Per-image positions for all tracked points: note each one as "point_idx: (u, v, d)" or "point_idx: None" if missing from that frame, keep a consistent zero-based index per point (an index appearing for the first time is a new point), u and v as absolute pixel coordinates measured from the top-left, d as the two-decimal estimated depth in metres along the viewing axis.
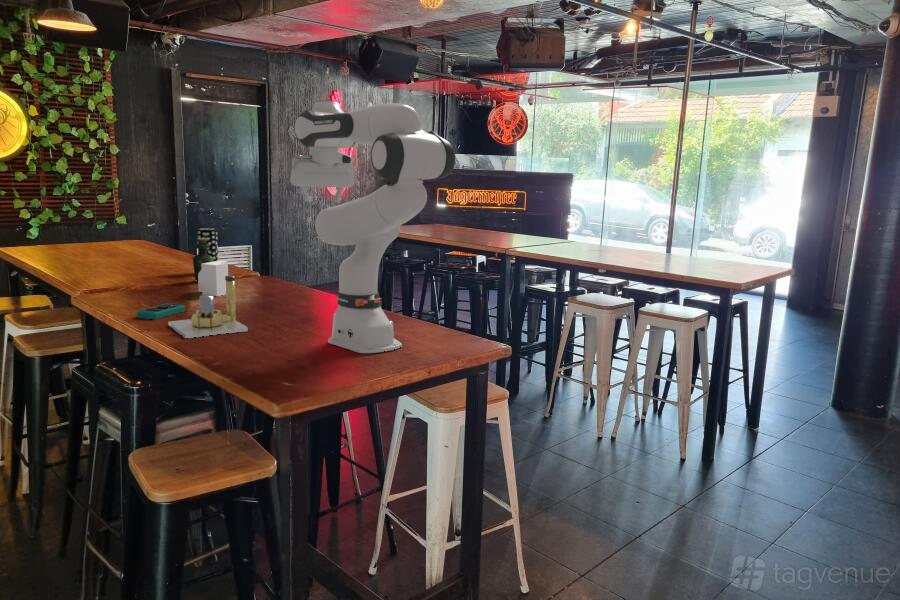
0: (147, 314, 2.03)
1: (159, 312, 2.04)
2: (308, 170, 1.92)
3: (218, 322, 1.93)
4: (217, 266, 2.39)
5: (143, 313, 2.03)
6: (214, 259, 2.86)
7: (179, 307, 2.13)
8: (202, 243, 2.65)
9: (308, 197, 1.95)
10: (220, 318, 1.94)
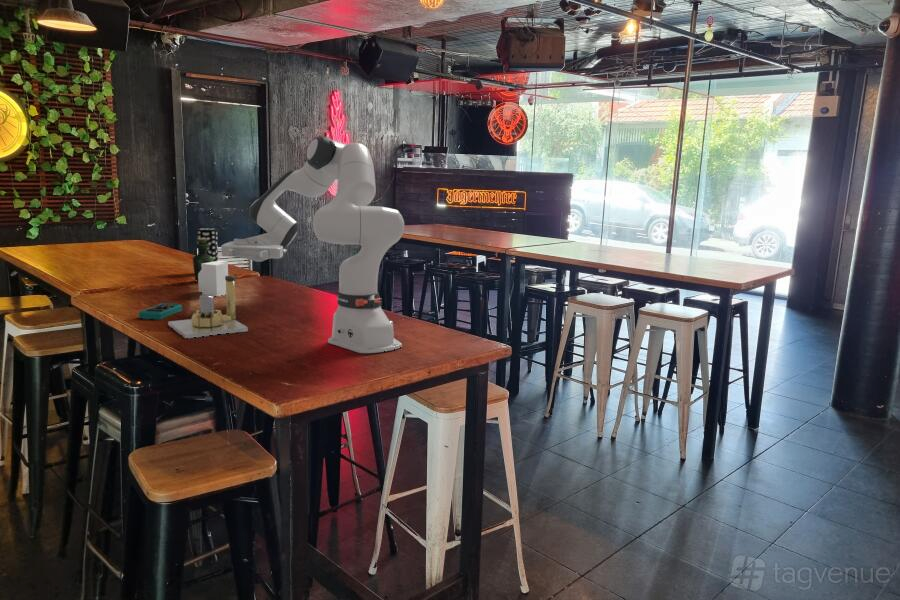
0: (151, 314, 2.02)
1: (163, 312, 2.05)
2: None
3: (218, 322, 1.93)
4: (217, 266, 2.39)
5: (147, 314, 2.03)
6: (214, 259, 2.86)
7: (178, 306, 2.14)
8: (202, 243, 2.65)
9: None
10: (220, 318, 1.94)
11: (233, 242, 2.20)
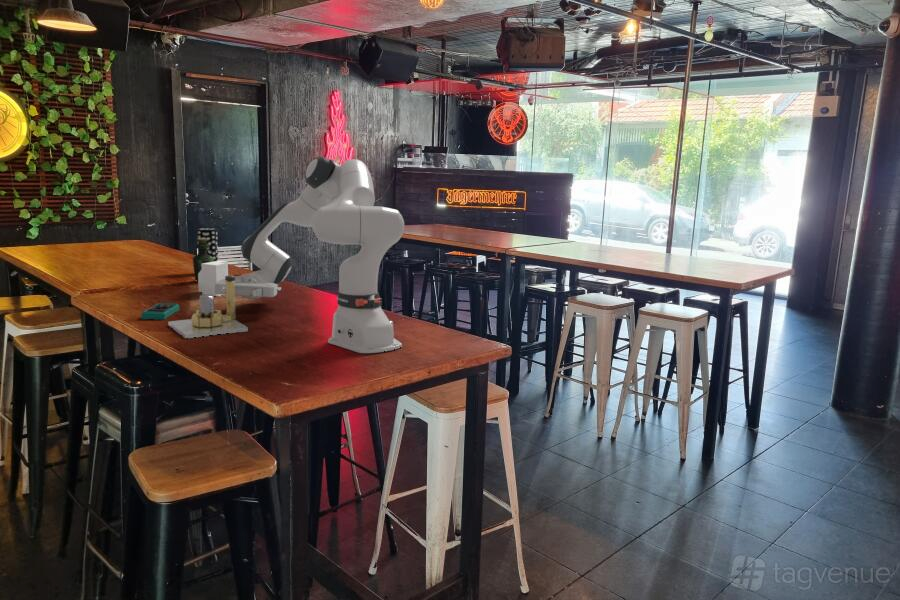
0: (155, 315, 2.02)
1: (166, 312, 2.05)
2: None
3: (218, 322, 1.93)
4: (217, 266, 2.39)
5: (150, 314, 2.02)
6: (214, 259, 2.86)
7: (176, 306, 2.14)
8: (202, 243, 2.65)
9: None
10: (220, 318, 1.94)
11: None
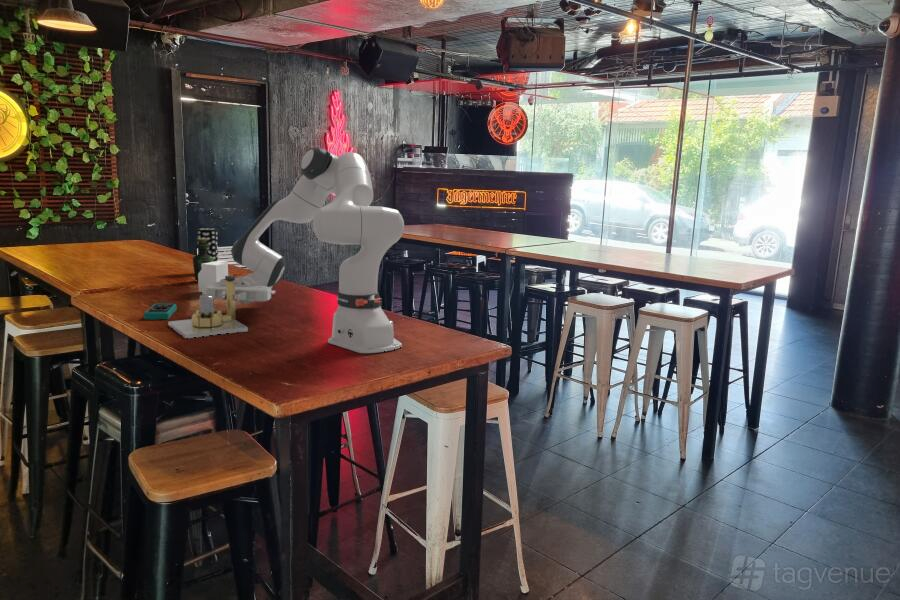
0: (158, 315, 2.03)
1: (168, 312, 2.05)
2: None
3: (218, 322, 1.93)
4: (217, 266, 2.39)
5: (153, 314, 2.02)
6: (214, 259, 2.86)
7: (174, 306, 2.14)
8: (202, 243, 2.65)
9: None
10: (220, 318, 1.94)
11: (219, 283, 2.09)
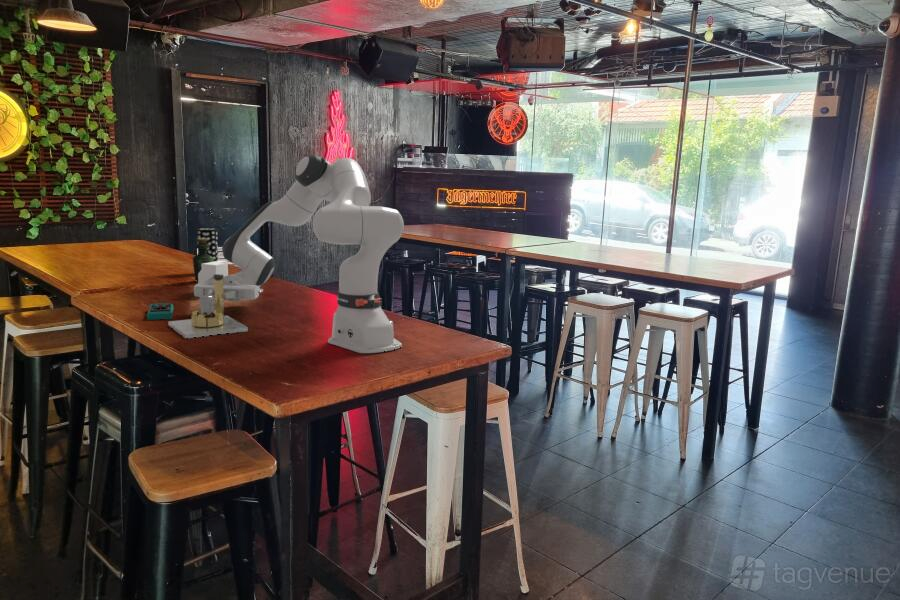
0: (162, 314, 2.03)
1: (171, 311, 2.06)
2: None
3: (222, 320, 1.95)
4: (217, 266, 2.39)
5: (157, 314, 2.02)
6: (214, 259, 2.86)
7: (172, 305, 2.15)
8: (202, 243, 2.65)
9: None
10: None
11: (207, 281, 2.11)
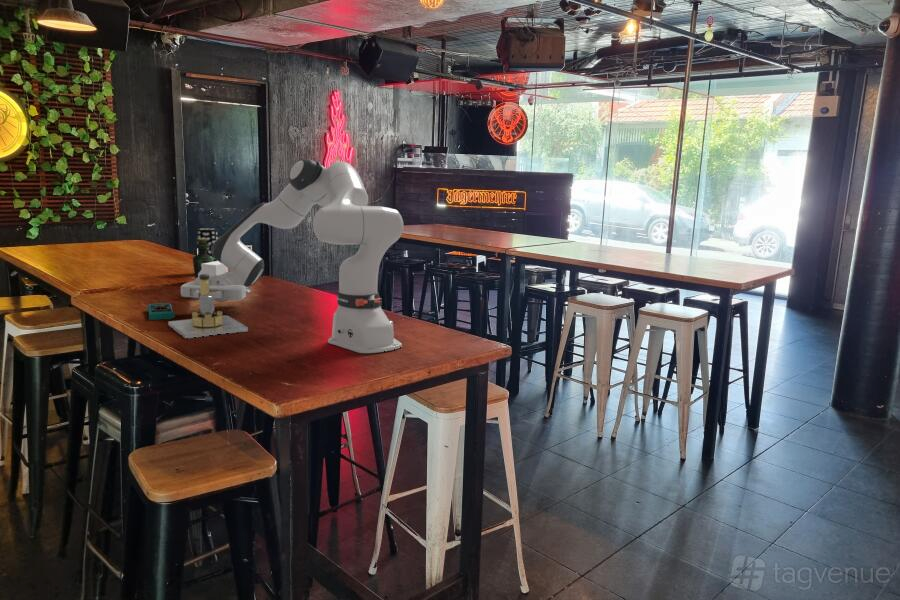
0: (165, 314, 2.03)
1: None
2: None
3: None
4: (217, 266, 2.39)
5: (159, 314, 2.03)
6: (214, 259, 2.86)
7: (170, 305, 2.15)
8: (202, 243, 2.65)
9: None
10: None
11: (194, 282, 2.10)
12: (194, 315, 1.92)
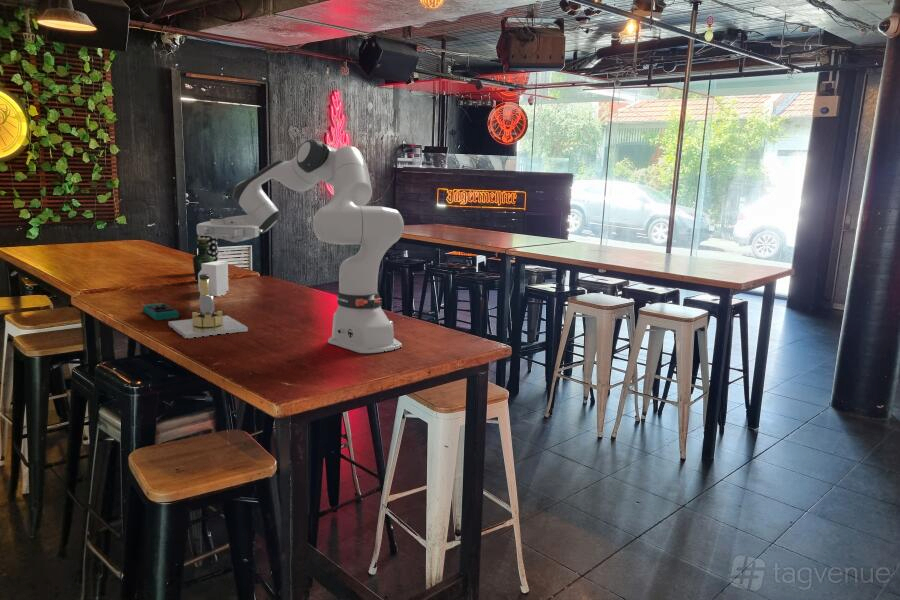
0: (170, 314, 2.04)
1: None
2: None
3: None
4: (217, 266, 2.39)
5: (165, 314, 2.03)
6: (214, 259, 2.86)
7: None
8: (202, 243, 2.65)
9: None
10: None
11: (209, 222, 2.19)
12: (194, 315, 1.92)
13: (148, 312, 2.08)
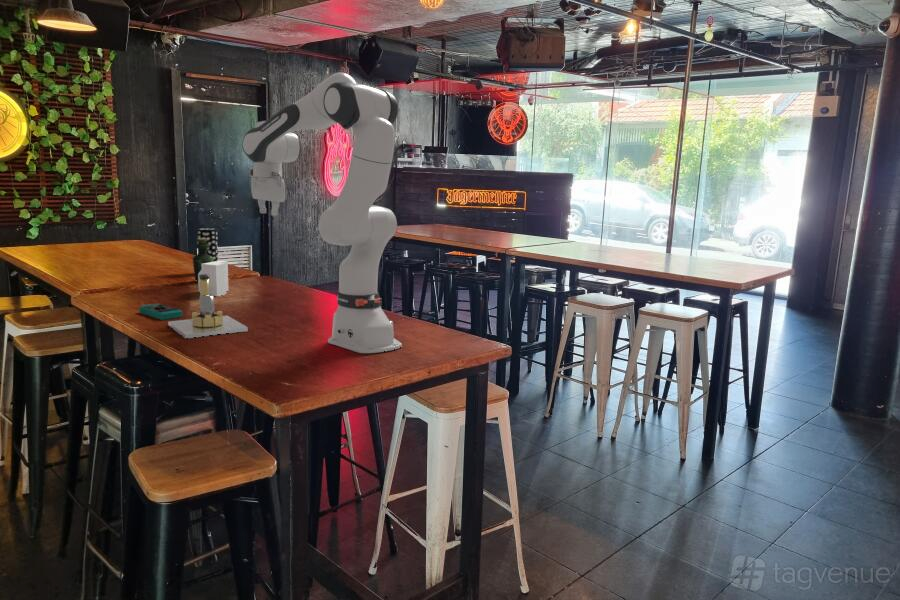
0: (175, 313, 2.05)
1: None
2: None
3: None
4: (217, 266, 2.39)
5: (170, 313, 2.04)
6: (214, 259, 2.86)
7: None
8: (202, 243, 2.65)
9: None
10: None
11: (252, 181, 2.16)
12: (194, 315, 1.92)
13: (148, 312, 2.07)
